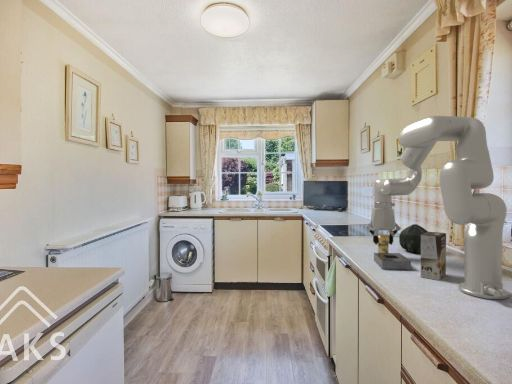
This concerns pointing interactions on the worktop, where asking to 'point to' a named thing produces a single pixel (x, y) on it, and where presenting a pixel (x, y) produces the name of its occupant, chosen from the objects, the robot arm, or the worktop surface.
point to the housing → (392, 261)
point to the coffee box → (433, 255)
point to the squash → (412, 238)
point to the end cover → (383, 243)
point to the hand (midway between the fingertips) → (383, 243)
